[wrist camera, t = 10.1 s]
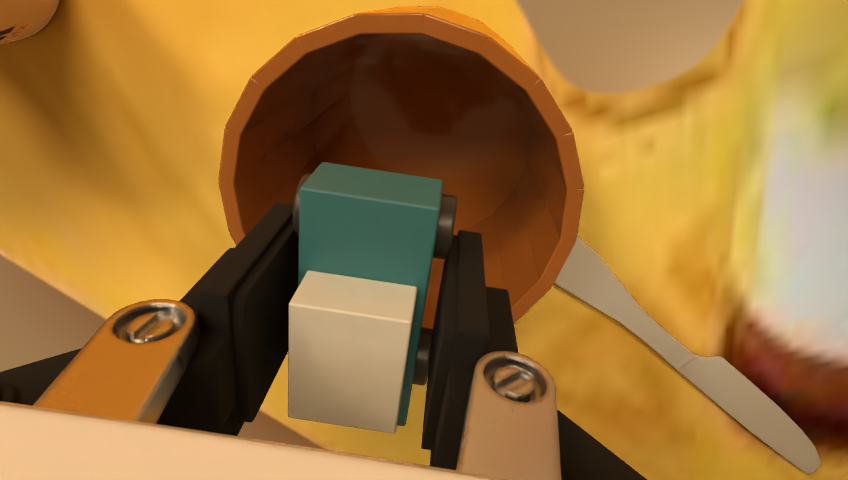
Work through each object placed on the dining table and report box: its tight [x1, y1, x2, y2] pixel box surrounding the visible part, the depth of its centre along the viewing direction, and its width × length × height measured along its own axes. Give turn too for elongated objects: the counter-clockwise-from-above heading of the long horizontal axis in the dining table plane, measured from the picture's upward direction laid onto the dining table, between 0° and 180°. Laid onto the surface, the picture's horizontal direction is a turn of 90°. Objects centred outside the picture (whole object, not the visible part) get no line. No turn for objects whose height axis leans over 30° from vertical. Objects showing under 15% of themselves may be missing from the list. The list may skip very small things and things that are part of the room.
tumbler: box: [219, 6, 584, 329], centre depth 19 cm, size 11×11×9 cm
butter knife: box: [554, 236, 820, 474], centre depth 27 cm, size 1×24×3 cm
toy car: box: [288, 162, 457, 433], centre depth 10 cm, size 6×3×3 cm, turn 172°
